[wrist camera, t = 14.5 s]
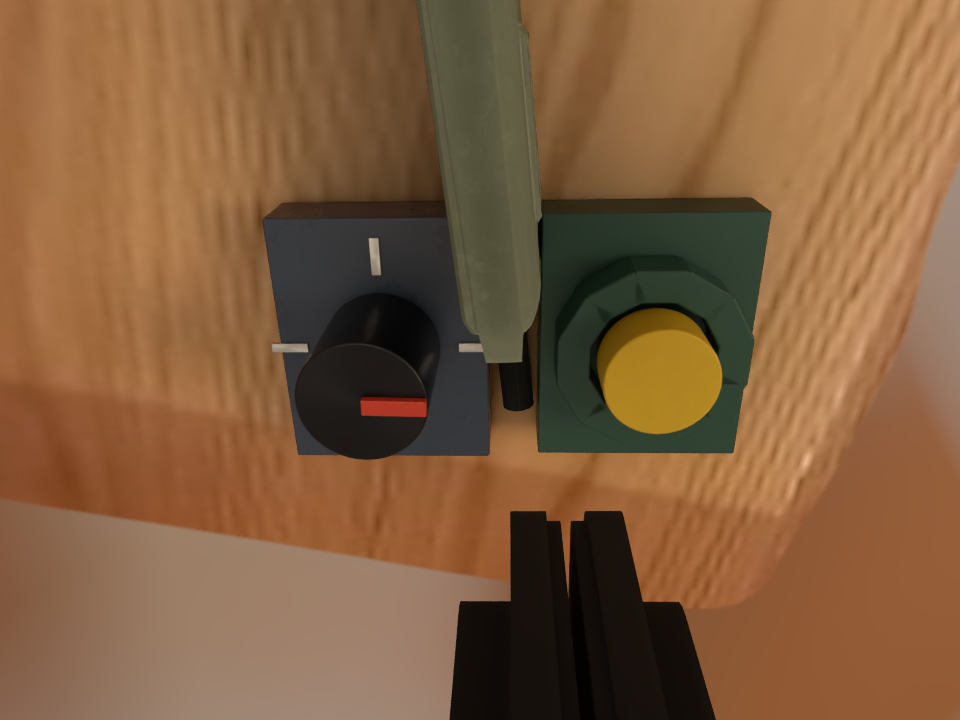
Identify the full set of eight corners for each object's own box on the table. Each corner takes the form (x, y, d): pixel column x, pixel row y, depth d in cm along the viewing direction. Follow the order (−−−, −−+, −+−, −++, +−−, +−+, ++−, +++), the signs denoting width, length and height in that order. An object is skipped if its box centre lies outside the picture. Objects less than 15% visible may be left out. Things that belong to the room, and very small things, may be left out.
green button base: (540, 199, 27) (544, 226, 23) (752, 197, 27) (790, 224, 23) (536, 425, 31) (539, 478, 28) (719, 426, 31) (746, 479, 27)
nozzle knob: (331, 395, 28) (298, 463, 24) (321, 291, 26) (284, 344, 22) (441, 398, 28) (429, 467, 24) (439, 293, 26) (425, 347, 22)
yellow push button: (599, 307, 25) (606, 330, 23) (714, 306, 25) (730, 329, 23) (593, 406, 27) (599, 434, 25) (701, 406, 27) (715, 435, 25)
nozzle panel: (273, 202, 27) (251, 219, 25) (495, 200, 27) (494, 217, 25) (306, 424, 32) (289, 457, 29) (497, 425, 31) (496, 459, 29)
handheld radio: (495, -376, 20) (559, 389, 31) (384, -353, 21) (484, 394, 31) (477, -541, 14) (563, 478, 25) (320, -504, 15) (471, 483, 25)
